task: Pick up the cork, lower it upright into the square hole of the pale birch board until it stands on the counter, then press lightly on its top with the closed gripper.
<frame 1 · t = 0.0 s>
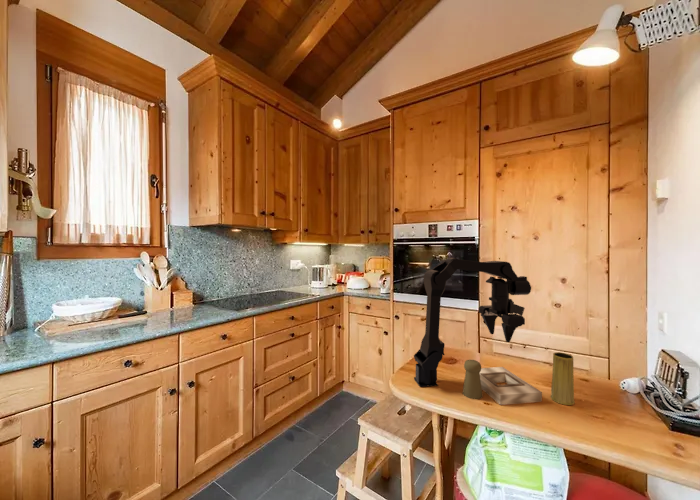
hand: (499, 337, 108), 15 cm above the table, tool pointing down, fingers open, 9 cm apart
vase: (562, 400, 93), on the table
socket board: (501, 388, 100), on the table
cork: (472, 395, 96), on the table
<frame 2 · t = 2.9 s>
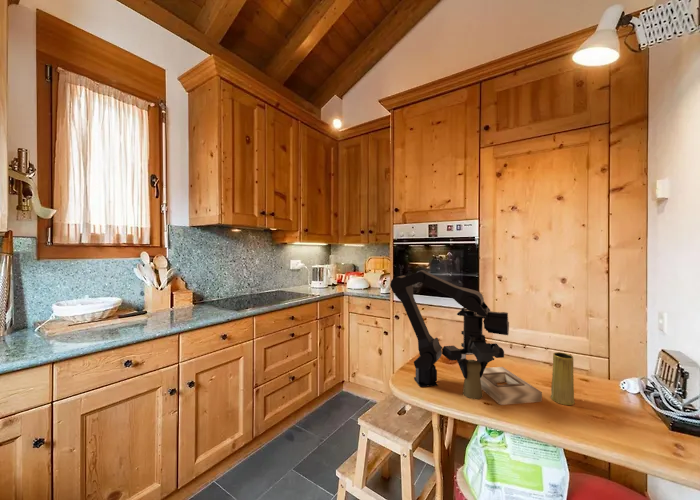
hand: (472, 377, 96), 6 cm above the table, tool pointing down, fingers closed on cork, 5 cm apart
cork: (472, 395, 96), on the table, touching gripper
everything else where it was.
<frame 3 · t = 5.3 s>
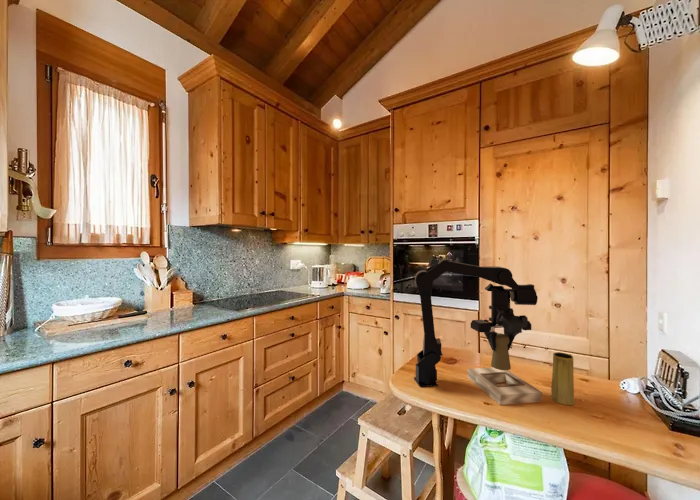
hand: (500, 350, 100), 13 cm above the table, tool pointing down, fingers closed on cork, 5 cm apart
cork: (500, 367, 100), point 7 cm above the table, touching gripper
everything else where it was.
when the fingers open (7 cm above the table, at t = 7.6 s): cork drops 1 cm, resting in socket board.
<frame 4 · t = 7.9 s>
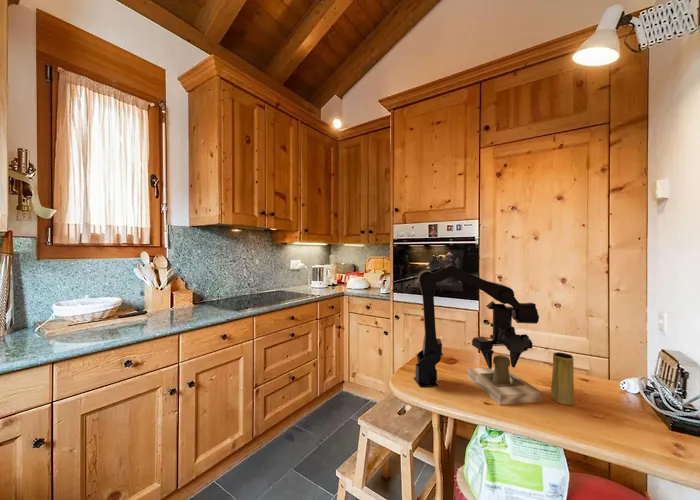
hand: (501, 367, 100), 7 cm above the table, tool pointing down, fingers open, 8 cm apart
cork: (501, 389, 100), resting in socket board
everything else where it was.
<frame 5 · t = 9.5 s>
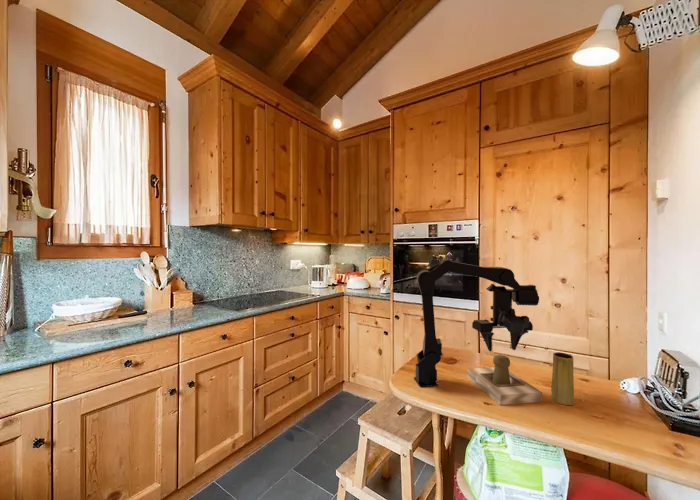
hand: (501, 350, 100), 13 cm above the table, tool pointing down, fingers open, 8 cm apart
nothing on the table moved.
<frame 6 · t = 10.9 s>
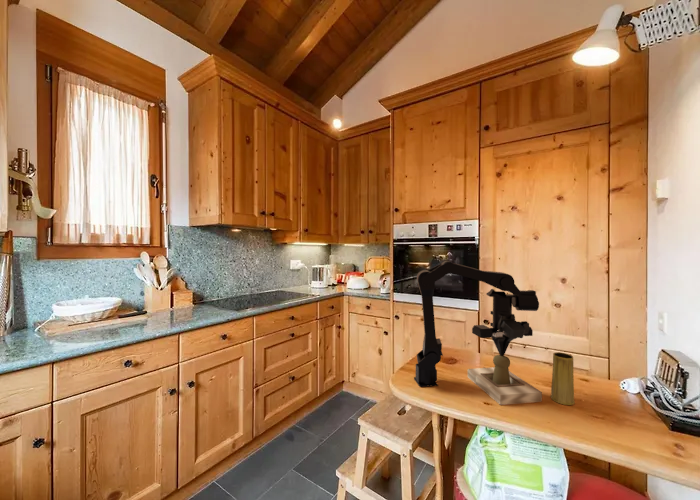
hand: (501, 355, 100), 11 cm above the table, tool pointing down, fingers closed
nothing on the table moved.
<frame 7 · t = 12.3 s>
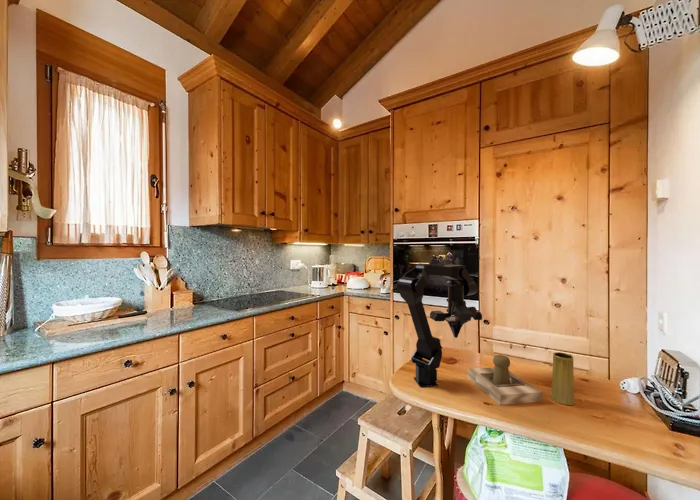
hand: (455, 337, 114), 13 cm above the table, tool pointing down, fingers closed
nothing on the table moved.
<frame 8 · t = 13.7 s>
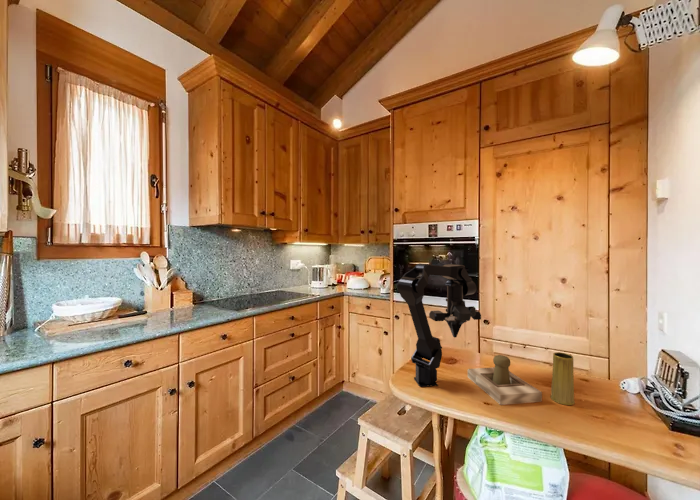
hand: (454, 337, 114), 13 cm above the table, tool pointing down, fingers closed
nothing on the table moved.
at the end: cork 0.1 cm off-centre on the socket board, point 0.0 cm above the socket board's base; cork tilted 0°; the gripper is holding nothing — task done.
